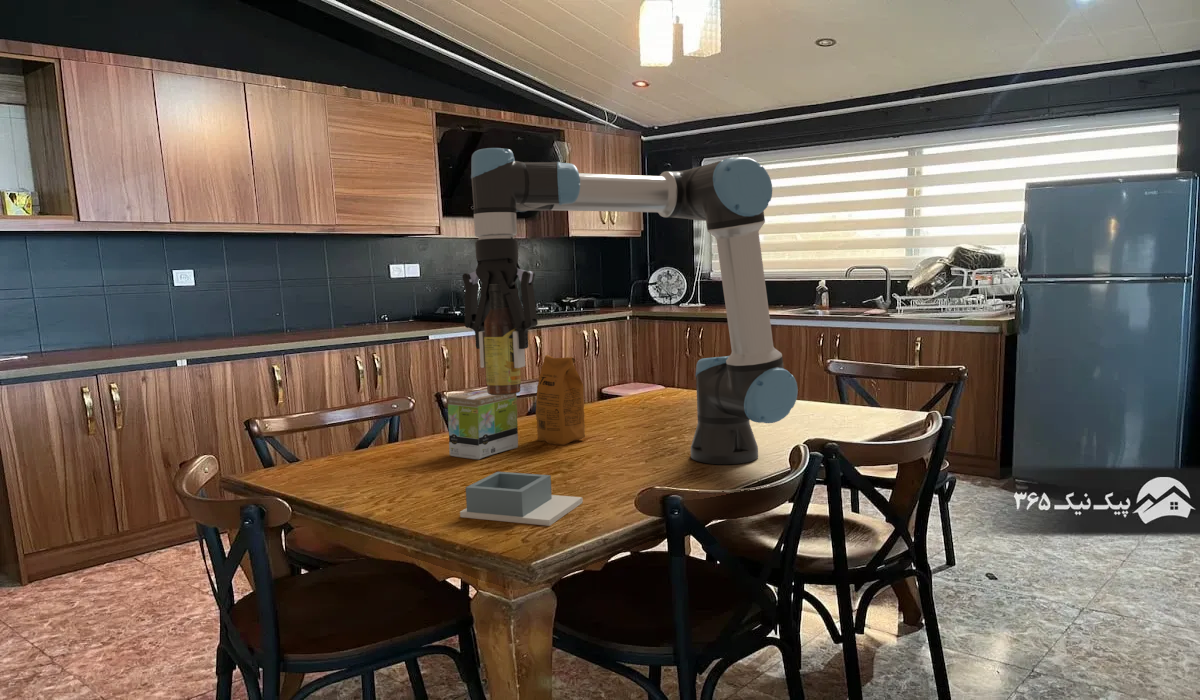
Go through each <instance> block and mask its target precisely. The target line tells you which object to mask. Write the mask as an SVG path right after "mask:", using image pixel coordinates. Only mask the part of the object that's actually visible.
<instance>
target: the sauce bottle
mask: <svg viewBox="0 0 1200 700" xmlns="http://www.w3.org/2000/svg"><path fill="white" fill-rule="evenodd" d="M488 292H489V301H490V305H489V308H490V311H489V313H488V315H487V316H486V318H485V321H484V332H485V336H484V346H485V366H486V367H485V381H486V389H487V392H488V394H490V395H509V394H516V395H517V394H518V393H520V392H521V384H522V378H521V368H514V348H513V332H514V331H515V329H516V326H515V323H514V320H513V317H512V314H511V311H510V308H509V305H508V302H507V299H506V297H505V295H504V294H503V292H502V289H501V286H500V284H490V285H489V288H488Z"/></svg>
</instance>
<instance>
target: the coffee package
mask: <svg viewBox="0 0 1200 700" xmlns="http://www.w3.org/2000/svg"><path fill="white" fill-rule="evenodd" d="M575 363H576V359H575V358H574V357H573V356H568V357H554V356H551V355H549V354H546V355H544V359H543V363H542V366H541V368H540V374H539V377H538V381H537V382H538V383H537V386H536V389H537V390H536V404H535V417H536V431H537V441H540V442H546V443H547V444H550V445H567V444H569V443H571V442H575V441H579V440H582V439H584V438H586V433H585V431H586V429H585V427H586V425H585V409H584V408H585V399H584V384H583V381H582V379H581V377H580V374H579V373H578V371H577V369H576V367H575V365H574V364H575Z"/></svg>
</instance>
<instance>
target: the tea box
mask: <svg viewBox="0 0 1200 700" xmlns="http://www.w3.org/2000/svg"><path fill="white" fill-rule="evenodd" d="M517 398H518V397H517V393H516V394H509V395H490V394H488V392H487V388H485V389H480V390H479V389H478V390H475V391H471V392H465V393H461V394H460V393H459V394H455V395H451V396H447V410H448V411H447V415H448V419H447V420H448V421H447V422H448V440H449V441H448V446H449V447H448V448H449V449H448V450H449V456H450V457H456V458H463V459H471V460H482V459H483V458H485V457H489V456H492V455H496V454H498V453H502V452H506V451H509V450H513V449H517V448H519V434H518V433H519V430H518V427H519V426H518V401H517V400H518V399H517Z"/></svg>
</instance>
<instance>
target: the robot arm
mask: <svg viewBox="0 0 1200 700" xmlns="http://www.w3.org/2000/svg"><path fill="white" fill-rule="evenodd" d="M470 166H471V174H470V179H471V187H472V201H473V223H474V228H473V229H474V230H473V231H474V237H476V238H478V239H477V240H476V241H475V242H474V246H475V259H476V262H477V264H476V265H477V266H476V268H475V271H472V272H470V273H468V272H466V273H463V274H462V276H461V277H462V281H463V285H464V289H465V290H464V327H465V328H466V329H470V330H473V332H474V334H475V335H474V340H475V347H476V349H478V350H479V362H480V363H479V364H480V365H479V366H480V368H482V369H483V368H485V369H486V366H485V346H484V336H485V332H484V321H485V318H486V316H487V315H488V313H489V311H490V308H489V305H490V301H489V292H488V288H489V285H490V284H500V286H501V289H502V292H503V294H504V295H505V297H506V299H507V302H508V305H509V308H510V311H511V314H512V317H513V320H514V323H515V326H516V329H515V331H514V332H513V348H514V368H520V369H521V368H524V367H526V355H525V354H526V353H525V352H526V350H525V349H528V347H529V333H528V332H529V330H530V329H532V328H534V327H537V325H538V314H537V307H536V299H535V290H534V281H535V275H536V273H535V271H533V270H526V269H525V270H524V269H521V266H520V265H519V243H518V240H517V238H515V237H516V236H517V235H518V228H517V227H518V226H517V213H518V212H520V213H525V212H528V211H544V212H545V211H546V212H547V211H563V212H567V211H570V212H576V211H577V212H618V213H619V212H620V213H622V212H624V213H625V212H626V213H627V212H628V213H658V214H659V216H660V217H663V218H674V219H675V218H677V219H686V220H687V219H688V220H695V221H705V222H706V229H707V231H706V232H708V233H709V234H711V235H712V236H713V237H714V238H715V240H716V246H717V253H718V254H717V255H718V262H719V269H720V275H721V282H722V283H721V284H722V290H723V297H724V303H725V310H726V311H725V313H726V319H727V327H728V332H729V340H730V347H731V348H730V349H731V353H730V355H727V356H724V355H723V356H715V357H706V358H705V357H704V358H703V357H702V358H700V359H699V360H698V361H697V362H696V365H695V366H696V367H695V381H696V382H695V383H696V384H695V385H696V411H697V414H696V416H697V424H696V429H695V432H694V436H693V439H692V442H691V445H690V458H691V460H693V461H695V462H699V463H704V464H712V465H737V464H745V463H751V462H753V461H756V460H758V458H759V446H758V444H757V440H756V437H755V434H754V432H753V429H752V426H751V423H750V421H752V422H754V423H759V424H760V423H763V424H774V423H778V422H780V421H782V420H783V419H785V418H786V417H787V416H788V415H789V414H790V412H791V410H793V408H794V406H795V404H796V402H797V399H798V394H799V392H798V391H799V389H798V382H797V380H796V378H795V377H794V375H793V374H791V373H790V371H788V370H787V369H785V368H784V360H783V359H784V358H783V353H782V352H781V351H779V350H778V349H777V348H775V347H774V340H773V332H772V325H771V318H770V310H769V302H768V293H767V286H766V278H765V271H764V264H763V254H762V248H761V240H760V239H761V238H760V230H761V228H763V226H764V224H766V219H765V213H764V212H765V210H766V209H767V208H768V207H769V203H770V202H771V200H772V197H773V184H772V180H771V178H770V174H769V173H768V171H767V169H766V168H765V167H764V166H763V165H762V164H761V163H760V162H758V161H756V160H755V159H753V158H750V157H745V156H740V157H738V156H737V157H729V158H725V159H723V160H720V161H716V162H712V163H709V164H705V165H704V164H703V165H700V166H697V167H693V168H690V169H685V170H679V171H678V170H677V171H672V170H671V171H669V170H666V171H665V170H664V171H662V172H661V174H659V175H644V174H643V175H641V174H640V175H639V174H637V175H635V174H611V173H610V174H609V173H608V174H607V173H586V172H581V173H580V172H579V169H578V168H577V166H576V165H575V164H574V163H571V162H570V163H568V162H560V161H556V162H555V161H551V162H549V161H547V162H546V161H545V162H544V161H541V162H540V161H539V162H538V161H537V162H536V161H535V162H534V161H533V162H532V161H530V162H529V161H524V162H523V161H518V160H515V156H514V153H513V151H512V149H509V148H501V147H487V148H481V149H477V150H475V151H474V152H473V153H472V154H471V165H470ZM517 280H519V281H520V293H521V300H522V303H521V300H520V297H519V289H518V287H517V284H516V282H517ZM479 281H480V282H481V286H480V292H479V289H478V288H479V286H478V283H479ZM478 293H479V294H480V298H479V294H478ZM478 298H479V300H478Z"/></svg>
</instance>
